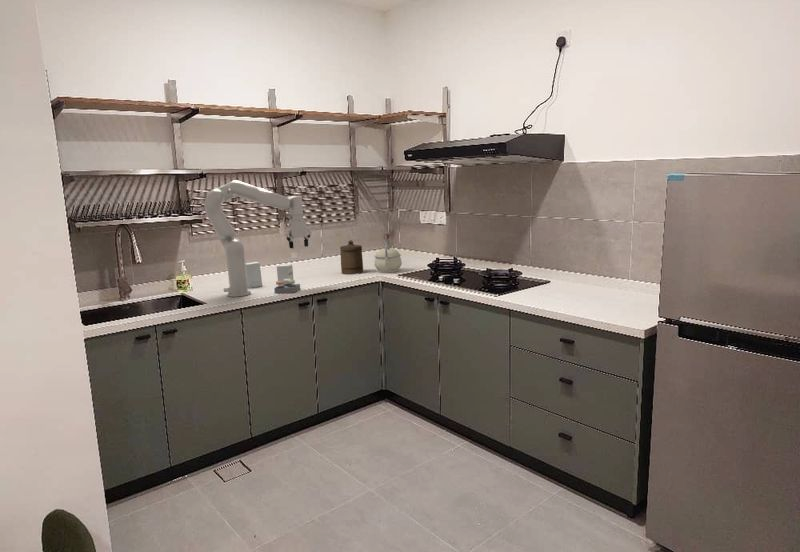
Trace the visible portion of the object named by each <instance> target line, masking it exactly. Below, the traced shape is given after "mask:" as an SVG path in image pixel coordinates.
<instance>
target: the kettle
mask: <svg viewBox="0 0 800 552" xmlns="http://www.w3.org/2000/svg"><path fill="white" fill-rule="evenodd" d="M389 237H390V234H389V233H385V235H384V236H383V238H384V248H383V249H379V250H378V251H377V252H376V254H375V255H374V258H375V259H374V266H375V269H376V270H377V272H378V273H380V272H381V274H391V273H392V272H393V273H397V272H399V271H400V268H401V267H402V263H403V262H402V259H401V255H402V254H401V253H399V251H398V250H397V249H394V248H391V247H390V241H389Z"/></svg>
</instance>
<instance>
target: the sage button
mask: <svg viewBox="0 0 800 552" xmlns="http://www.w3.org/2000/svg"><path fill="white" fill-rule="evenodd" d="M288 284H296V279H294V280H288Z"/></svg>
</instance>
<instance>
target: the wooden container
mask: <svg viewBox="0 0 800 552" xmlns="http://www.w3.org/2000/svg"><path fill="white" fill-rule="evenodd" d="M347 243H348V244H347V245H342V246H340V247H339V249H340V268H341V274H343V275H358V274H362V273H364V261H363V260H364V259H363V251H362V250H363V249H362V247H363V246H362V244H354V241H353V239H352V240H348V242H347ZM357 273H358V274H357Z"/></svg>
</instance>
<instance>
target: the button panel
mask: <svg viewBox="0 0 800 552" xmlns="http://www.w3.org/2000/svg"><path fill="white" fill-rule="evenodd" d="M273 290H274V294H275V293H278V294H294V293H296V292H298V291H299V290H301V284H300V283H294V284H282V285H280V286H278V285H276V286H275V287H274V289H273Z"/></svg>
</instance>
